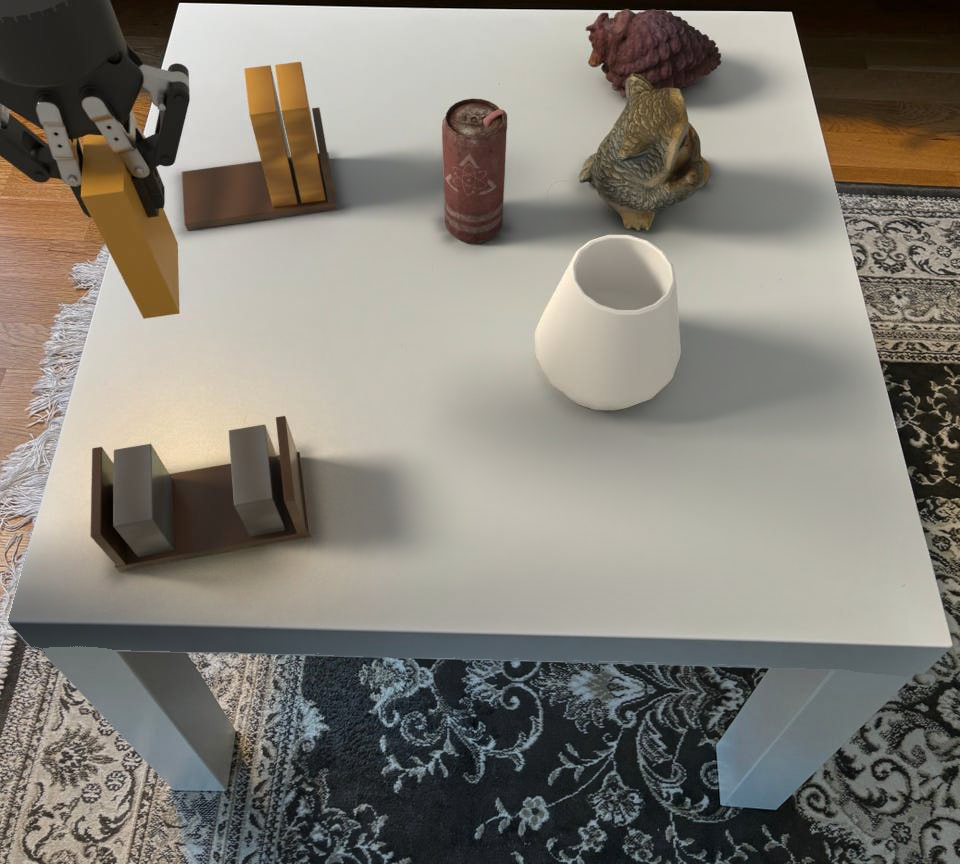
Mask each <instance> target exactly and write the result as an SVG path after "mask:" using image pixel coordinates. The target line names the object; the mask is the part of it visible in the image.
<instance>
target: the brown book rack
mask: <svg viewBox="0 0 960 864" xmlns="http://www.w3.org/2000/svg"><path fill="white" fill-rule="evenodd" d="M275 423H276V425H275V426H276V434H277V442H278V453H279V454H277V452H276V449H275V447H274V443H273V442H272V439H271V436H270V433H269V431H268V429H267V425H266V424H259V425H252V426H247V427H241V428H235V429H230V430H228V443H229V456H230V463H226V464H220V465H219V464H218V465H214V466H208V467H201V468H197V469H191V470H185V471H179V472H173V473H169V471H168V470H167V468H166V466H165V464H164V463H163V461H162V459H161V458H160V455H158V453H157V451H156V450H155V448H154V446H153V445H152V443H147V444H140V445H135V446H127V447H122V448H117V449H113V460H112V459H111V458H110V457H109V455H108V454H107V452H106V451H105V449H104V448H103V446H98V447H92V449H91V483H90V484H91V485H90V487H91V488H90V489H91V490H90V534H89V535H90V536H89V537H90V538H91V539H92V540H93V542H95V543H96V545H97V546H98V547H99V548H100V549H101V550H102V551H103V552H104V554H105V555H106V556H107V557H108V559H110V561H111V562H112V563H113V564H114V568H115V570H116V571H117V572H118V573H119V572H125V571H130V570H136V569H137V570H138V569H141V568H146V567H152V566H159V565H163V564H169V563H173V562H179V561H185V560H191V559H195V558H202V557H207V556H212V555H217V554H223V553H224V554H225V553H228V552H234V551H235V552H236V551H239V550H240V551H241V550H246V549H250V548H256V547H261V546H268V545H272V544H277V543H284V542H289V541H294V540H299V539H306V538H310V537H311V536H312V534H311V526H310V517H309V509H308V500H307V492H306V484H305V475H304V467H303V460H302V455H301V452H300V451H298V449H297V447H296V444H295V441H294V437H293V435H292V432H291V429H290V426H289V425H290V424H289V423H288V419H287V416H286V415H281V416H276V417H275Z"/></svg>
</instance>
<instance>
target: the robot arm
mask: <svg viewBox="0 0 960 864" xmlns="http://www.w3.org/2000/svg"><path fill="white" fill-rule="evenodd" d="M142 88H143V89H145V90H147V91H148V92H149V94H150V100H151V103H152V104H153V105H154V106H155V107H157V110H158V115H157V118H156V119H157V120H156V124H155V129H154V134H151V135H149V136H145V135H144V132H143V131H142V129H141V127H140V125H139V124H138V121H137V118H136V115H135V111H134V110H133V108H134V105H135V104H136V102H137V99H138V96H139V94H140V92H141V90H142ZM190 101H191V95H190V73H189V69H188V67H187V66H186V65H185V64H182V63H177V62H176V63H171V64H170V65H169V66H168V67H167V69H163V68H158V67H155V66H151V65H147V64H144V62H143V60H142V58H141V56H140V55H139V54H138V53H137V52H136V51H135V50H134V49H133V48H132V47H130V45H129V44H128V42H127V41H126V39H125V37H124V34H123V32H122V29H121V26H120V24H119V21H118V18H117V16H116V13H115V10H114V7H113V5H112V2H111V0H0V157H1V158H3V160H5V161H7V162H8V163H9V164H11V165H12V166H13V167H15V168H16V169H17V170H19V172H21V173H22V174H24V175H25V176H27V178H29V179H30V180H32V181H33V182H36V183H39V184H40V183H41V184H43V183H47V182H48V181H49V180H50V179H55V180H56V179H57V180H60V181H62V182H63V183H64V184H65V185H67V186H69V187H70V190H71V191H72V194H73V195H74V197H75V200H76V201H77V202H78V205H79V206H80V209H81V210H82V213H83V214H84V215H86V217H88V218H89V219H92V217H91V215H90V213H89V212H88V210H87V208H86V206H85V204H84V202H83V200H82V198H81V184H82V165H83V144H82V142H81V138H82V137H83V138H84V136H85V135H102V136H103V137H104V138H105V140H106V141H107V143H108V144H109V146H110V148H111V149H112V151H113V152H114V153H115V154H119V156H120V157H121V159H122V160H123V162H124V164H125V165H126V167H127V168H128V170H129V171H130V173H131V180H132V182H133V184H134V187H135V189H136V191H137V194H138V196H139V198H140V200H141V203H142V205H143V207H144V210H145V212H146V214H147V216H148V218H151V217H159V209H160V208H163V209H164V208H165V202H166V199H165V198H166V197H165V195H166V191H165V189H166V188H165V185H164V183H163V180H162V178H161V175H160V172H159V170H158V167H159V166H162V167H171V166H172V165H174V164H175V162H176V159H177V156H178V150H179V146H180V142H181V137H182V135H183V130H184V126H185V121H186V117H187V113H188V109H189V104H190ZM10 111H11V112H13V113H15V114H17V115H18V116H20V117H22V118H23V119H24V120H26V121H27V122H30V123H31V124H33V125H34V126H36V127H37V128H39V129H41V130H42V131H43V132H44V135H45V139H46V141H45V140H44V139H42V138H41V137H40V136H39V135H37V134H36V133H35V132H34V131H32V130H31V129H30V128H29V127H27V126H26V124H24V123H23V122H21V121H20V120H19V119H18V118H17V117H15V115H13V114H11V113H10Z"/></svg>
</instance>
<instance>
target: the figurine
mask: <svg viewBox="0 0 960 864" xmlns="http://www.w3.org/2000/svg"><path fill="white" fill-rule="evenodd" d="M625 88H626V97H627V98H626V105H625V106H624V109H623V110H622V111H621V113H620V115H619V117H618V118H617V119H616V121H615V123H614V124H613V126H612V128H611V130H610V131H609V133H608V134H606V136H605V137H604V139H603V140H602V141H601V142H600V143H599V146H598V148H597V150H596V152H595V153H593V154H591V155H589V156H588V158H587V159H586V160H585V161H584V163H583V165H582V169H581V171H580V173H579V174H578V181H579V183H581V184H585V183H592V184H593V185H594V186H595V188H596V189H597V193H598V195H599V196H600V198H601V199H602V200H603V201H604V202H606V203H607V204H608V206H610V207H611V208H613V210H615V211H616V212H617V213H618V215H620V217H621V219H622V223H623V226H624V227H625V228H626V229H627V230H630V229H634V230H636V231H637V232H639V231H640V229H643V230H645V231H649V229H651V227H652V224H653V221H654V218H655V215H656V213H659V212H662V211H664V210H666V209H668V208H670V207H672V206H675V205H678V204H680V203H683V202H684V201H687V200H688V199H689V198H691V197H692V196H694V195H695V194H696V193H697V192H699V191H700V190H701V189H702V188H703V187H704V186H705V184H707V182H708V180H709V175H710V172H711V171H710V170H711V169H710V165H709V162H708V161H707V160H706V159H705V158H704V157H703V156H702V151H701V150H702V149H701V148H702V145H701V139H700V136H699V134H698V132H697V131H696V129H695V127H694V126H693V125H692V124H691V123H690V122H689V115H688V111H687V106H686V100H685V98H684V96H683V94H682V91H681V88H680V89H677V88H662V89H655V88H654V87H653V86H652V84H651V83H650V81H648V80H647V79H645V78H644V77H642V76H641V75H639V74H631V75H630V76H629V77H628V79H627V81H626V87H625Z"/></svg>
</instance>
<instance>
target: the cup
mask: <svg viewBox="0 0 960 864" xmlns="http://www.w3.org/2000/svg"><path fill="white" fill-rule="evenodd" d="M678 302H679V301H678V289H677V279H676V271H675V266H674V264H673V263H672V261H671V260H670V258H669V257H668V256H667V254H666V252H665V251H663V250H662V249H661V248H659V247H658V246H656V245H655V244H653V243H652V242H651V241H649V240H647V239H643V238H640V237H637V236H634V235H630V234H607V235H603V236H600V237H597V238H594V239H590V240H589V241H588V242H586V243H585V244H584V245H582V246H581V247H580V248H578V249H577V250H576V251H575V254H574V255H573V257H572V259H571V260H570V262H569V264H568V266H567V268H566V269H565V272H564V273H563V275H562V278H561V279H560V280H559V283H558V285H557V287H556V289H555V290H554V292H553V294H552V296H551V298H550V300H549V301H548V303H547V305H546V306H545V309H544V310H543V313H542V315H541V318H540V319H539V321H538V324H537V326H536V327H535V330H534V347H535V358H536V362H537V364H538V365H539V367H540V369H541V370H542V372H543V374H544V376H545V378H546V379H547V381H548V383H550V384H551V385H552V386H553V387H554V388H555V389H557V390H559V392H561V393H562V394H563V395H565V396H566V397H567V398H568V399H570V400H571V401H572V402H573V403H575V404H576V405H579V406H582V407H585V408H587V409H591V410H593V411H617V410H622V409H623V410H624V409H627V408H630V407H633V406H636V405H639V404H641V403H644V402H646V401H649V400H652V399H653V398H654V397H655V396H656V395H657V394H658V393H660V391H662V390H663V389H664V388H665V387H666V386H667V385H668V384H669V383H670V382H671V380H673V378H674V375H675V372H676V369H677V367H678V364H679V362H680V359H681V353H682V349H681V348H682V346H681V333H680V332H681V331H680V319H679V304H678Z"/></svg>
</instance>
